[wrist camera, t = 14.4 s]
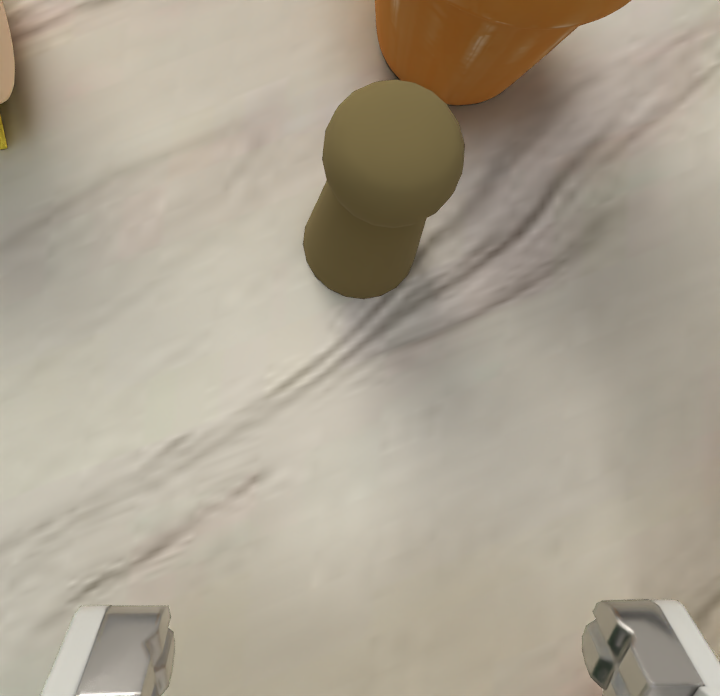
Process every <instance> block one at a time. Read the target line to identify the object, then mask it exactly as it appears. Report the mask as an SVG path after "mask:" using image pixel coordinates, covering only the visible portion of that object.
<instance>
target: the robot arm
mask: <svg viewBox="0 0 720 696" xmlns="http://www.w3.org/2000/svg"><path fill="white" fill-rule="evenodd" d="M593 614H594V616H595V618H596V619H595V620H594V621H592V622H591V623H589V624H588V625H587V626H586V627H585V630H584V633H583V635H582V653H583V657H584V661H585V664H586V667H587V670H588V672H589V675H590V677H591V678H592V679H593V680H594V681H595V682H596V683H597V684H598V685H599V686H600V687H601V688H603V694H602V696H720V662H719V660H718V659H717V657H716V656H715V654H714V653H713V651H712V649H711V648H710V646H709V645H708V643H707V641H706V640H705V638H704V637H703V635H702V633H701V632H700V630H699V629H698V627H697V626H696V624H695V622H694V621H693V619H692V618H691V616H690V614H689V613H688V611H687V610H686V608H685V607H684V605H682V604H681V603H680V602H679V601H678V600H672V599H667V600H649V599H639V600H605V601H600V602H598V603H597V604H596V606H595V608H594V610H593ZM170 619H171V614H170V609H169V606H112V605H89V606H80V607H79V609H78V610H77V611H76V613H75V614H74V616H73V618H72V620H71V623H70V625H69V627H68V630H67V632H66V634H65V637H64V639H63V642H62V644H61V646H60V649H59V651H58V654H57V656H56V658H55V661H54V663H53V666H52V668H51V670H50V673H49V675H48V678H47V680H46V682H45V685H44V687H43V690H42V692H41V694H40V696H161V695H162V694H163V693H164V692H165V691H166V690H167V688H168V687H169V684H170V679H171V675H172V670H173V662H174V654H175V639H174V632H173V631H172V630H171V629H169V628H168V627H169V623H170Z"/></svg>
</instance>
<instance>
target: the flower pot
mask: <svg viewBox="0 0 720 696" xmlns="http://www.w3.org/2000/svg"><path fill="white" fill-rule="evenodd" d="M630 1H631V0H375V12H376V27H377V35H378V41H379V45H380V49H381V51H382V54H383V56H384V58H385V60H386V62H387V63H388V65H389V67H390V68H391V70H392V71H393V72H394V73H395V75H396V76H397V77H398V78H399V79H400V80H402V81H407V82H413V83H416V84H418V85H420V86H422V87H424V88H426V89H429V90H431V91H432V92H434V93H435V94H436V95H437V96H438V97H439V98H440V99H441V100H443V101H444V102H445V103H446V104H450V105H468V104H476V103H480V102H483V101H486V100H489V99H491V98H493V97H495V96H497V95H498V94H500V93H501V92H502V91H504V90H505V89H506V88H508V87H509V86H510V85H511V84H513V83H514V82H515V81H516V80H517V79H519V78H520V77H521V76H522V75H523V74H524V73H525V72H527V71H528V70H529V69H530V68H531V67H533V66H534V65H535V64H536V63H537V62H539V61H540V60H541V59H542V58H543V57H544V56H545V55H547V54H548V53H549V52H550V51H551V50H552V49H553V48H554V47H556V46H557V45H558V44H559V43H560V42H561V41H562V40H563V39H565V38H566V37H567V36H568V35H569V34H570V33H571V32H572V31H574V30H575V29H576V28H577V27H578V26H580V25H583V24H586V23H589V22H592V21H595V20H598V19H601V18H603V17H605V16H607V15H609V14H611V13H613V12H615V11H617V10H618V9H620V8H621V7H623V6H624V5H626V4H627V3H628V2H630Z"/></svg>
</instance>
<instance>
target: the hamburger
mask: <svg viewBox="0 0 720 696" xmlns="http://www.w3.org/2000/svg"><path fill="white" fill-rule="evenodd" d="M14 80H15V61H14V51H13V44H12V39H11V34H10V29H9V24H8V20H7V17H6V13H5V9H4V5H3V2H2V0H0V104H1V103H3V102H5V101H6V100H8V99H9V97H10V95H11V93H12V90H13V87H14ZM6 148H7V143H6V138H5V133H4V129H3V124H2V119H1V115H0V149H6Z"/></svg>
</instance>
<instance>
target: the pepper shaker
mask: <svg viewBox="0 0 720 696" xmlns="http://www.w3.org/2000/svg"><path fill="white" fill-rule="evenodd" d="M464 148H465V144H464V141H463V137H462V133H461V129H460V125H459V124H458V122H457V120H456V118H455V117H454V115H453V114H452V112H451V110H450V109H449V107H448V106H447V104H446V103H445V102H444V101H443V100H441V99H440V98H439V97H438V96H437V95H436V94H435V93H434V92H432V91H431V90H429V89H426V88H424V87H422V86H420V85H418V84H416V83H413V82H407V81H402V80H387V81H379V82H374V83H371V84H369V85H367V86H365V87H363V88H360V89H358V90H356V91H354V92H353V93H352V94H351V95H350V96H348V97H347V98H346V99H345V100H344V101H343V102H342V103H341V104H340V105H339V106H338V108H337V109H336V111H335V113H334V115H333V117H332V119H331V121H330V123H329V125H328V127H327V129H326V131H325V140H324V148H323V157H322V160H323V165H324V169H325V174H326V178H327V181H326V184H325V186H324V188H323V190H322V192H321V194H320V196H319V199H318V201H317V203H316V205H315V207H314V209H313V211H312V214H311V216H310V218H309V220H308V222H307V224H306V226H305V233H304V241H303V246H304V251H305V256H306V260H307V263H308V264H309V266H310V268H311V270H312V271H313V273H314V275H315V276H316V277H317V278H318V279H319V280H320V281H321V282H322V283H323V284H324V285H325V286H327V287H328V288H329V289H331V290H333V291H335V292H337V293H339V294H341V295H344V296H346V297H353V298H361V299H365V298H371V297H376V296H381V295H383V294H385V293H387V292H389V291H390V290H392V289H394V288H396V287H397V286H398V285H399V284H400V283H401V282H402V280H403V279H404V278H405V277H406V276H407V275H408V273H409V270H410V268H411V266H412V264H413V261H414V259H415V255H416V252H417V248H418V245H419V242H420V238H421V235H422V231H423V228H424V224H425V221H426V218H427V217H429V216H431V215H433V214H435V213H436V212H437V211H438V210H439V209H440V208H441V207H442V206H443V205H444V203H445V202H446V201H447V200H448V199H449V198H450V197H451V195H452V194H453V192H454V191H455V188H456V186H457V184H458V181H459V179H460V177H461V174H462V170H463V162H464Z"/></svg>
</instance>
